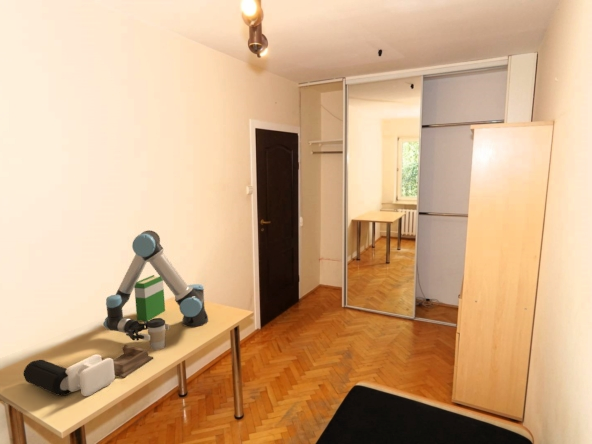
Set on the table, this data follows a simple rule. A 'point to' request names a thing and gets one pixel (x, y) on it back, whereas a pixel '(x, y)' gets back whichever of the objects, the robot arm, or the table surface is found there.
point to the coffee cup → (156, 333)
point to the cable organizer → (90, 375)
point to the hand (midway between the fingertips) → (159, 332)
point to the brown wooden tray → (130, 360)
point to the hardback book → (149, 298)
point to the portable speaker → (47, 376)
